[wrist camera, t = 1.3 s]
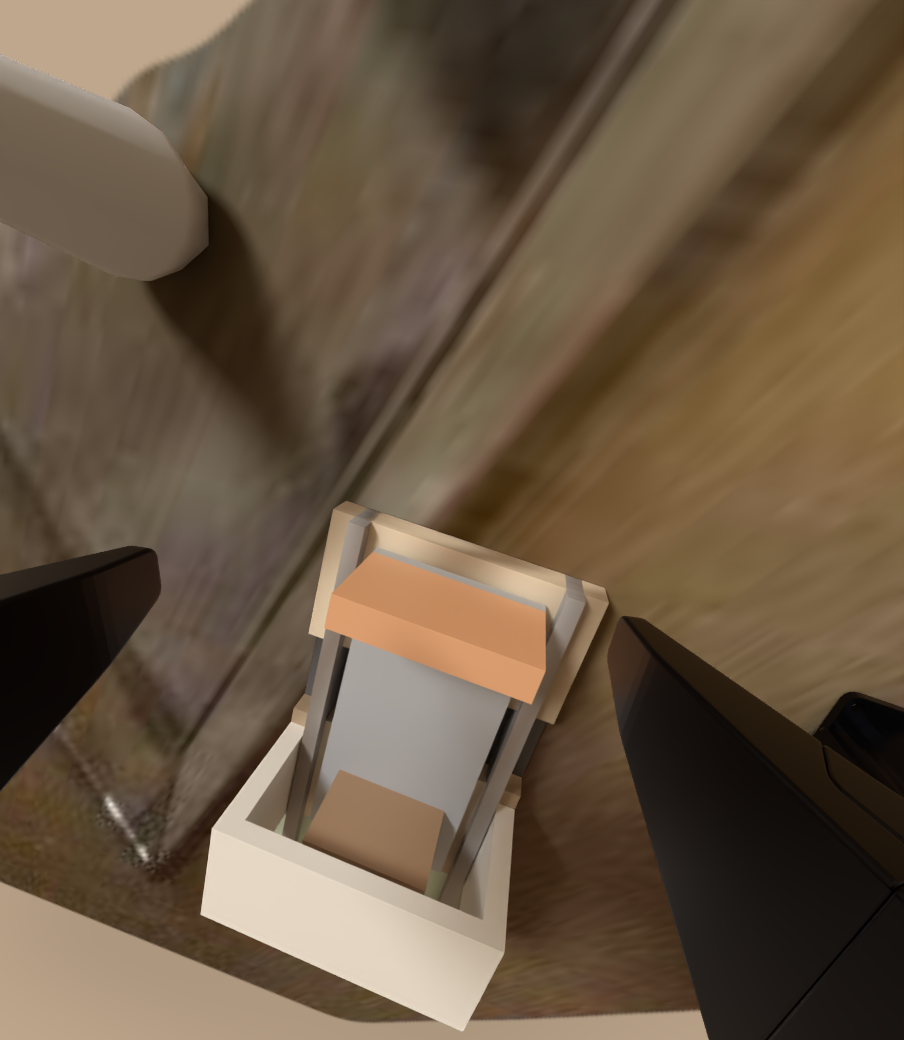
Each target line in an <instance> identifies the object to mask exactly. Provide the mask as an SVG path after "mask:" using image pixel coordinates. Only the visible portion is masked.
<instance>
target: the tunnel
mask: <svg viewBox="0 0 904 1040" xmlns="http://www.w3.org/2000/svg"><path fill="white" fill-rule="evenodd" d="M304 728H305V727H303V726H301V725H298V724H296V723H293V722H291V723H290V724H289V725H288V727H287V728H286V729H285V731H284V732H283V733H282V735H281V736H280V737H279V739H278V740H277V742H276V743H275V744H274V746H273V747H272V748H271V750H270V751H269V752H268V754H267V755H266V756H265V758H264V759H263V760H262V762H261V763H260V764H259V766H258V767H257V769H256V770H255V771H254V773H253V774H252V775H251V777H250V778H249V779H248V781H247V782H246V783H245V785H244V786H243V787H242V789H241V790H240V791H239V793H238V794H237V796H236V797H235V798H234V800H233V801H232V802H231V804H230V805H229V806H228V808H227V809H226V810H225V812H224V813H223V814H222V816H221V817H220V819H219V820H218V821H217V823H216V824H215V825H214V827H213V828H212V834H211V841H210V849H209V856H208V863H207V871H206V878H205V886H204V893H203V901H202V908H201V915H203V916H205V917H207V918H209V919H212V920H214V921H216V922H218V923H221V924H223V925H225V926H227V927H230V928H232V929H234V930H236V931H238V932H241V933H243V934H245V935H247V936H250V937H252V938H254V939H256V940H259V941H261V942H263V943H265V944H268V945H270V946H272V947H274V948H276V949H279V950H281V951H283V952H285V953H288V954H290V955H292V956H294V957H297V958H299V959H301V960H303V961H306V962H308V963H310V964H312V965H314V966H317V967H319V968H321V969H323V970H326V971H328V972H330V973H332V974H335V975H337V976H339V977H341V978H343V979H346V980H348V981H350V982H352V983H355V984H357V985H359V986H361V987H364V988H366V989H368V990H370V991H373V992H375V993H377V994H379V995H381V996H384V997H386V998H388V999H390V1000H393V1001H395V1002H397V1003H399V1004H402V1005H404V1006H406V1007H408V1008H411V1009H413V1010H415V1011H417V1012H419V1013H422V1014H424V1015H426V1016H428V1017H431V1018H433V1019H435V1020H437V1021H440V1022H442V1023H444V1024H446V1025H449V1026H451V1027H453V1028H455V1029H457V1030H460V1031H462V1032H463V1031H464V1029H465V1027H466V1025H467V1023H468V1021H469V1019H470V1017H471V1015H472V1013H473V1012H474V1010H475V1008H476V1006H477V1004H478V1002H479V1000H480V998H481V996H482V994H483V993H484V991H485V989H486V987H487V985H488V983H489V981H490V979H491V977H492V976H493V974H494V972H495V970H496V968H497V966H498V964H499V962H500V960H501V958H502V957H503V955H504V952H505V938H506V924H507V910H508V896H509V882H510V868H511V854H512V840H513V826H514V812H515V810H514V809H512V808H509V807H507V806H504V805H502V804H499V803H498V806H497V808H496V810H495V812H494V815H493V817H492V819H491V822H490V824H489V826H488V829H487V831H486V833H485V835H484V838H483V840H482V842H481V845H480V847H479V849H478V851H477V854H476V856H475V858H474V861H473V863H472V865H471V867H470V870H469V872H468V874H467V877H466V879H465V881H464V886H463V892H462V898H461V904H460V910H458V909H455V908H453V907H450V906H448V905H446V904H443V903H441V902H438V901H436V900H434V899H431V898H429V897H427V896H424V895H422V894H419V893H417V892H415V891H412V890H410V889H408V888H405V887H403V886H400V885H398V884H396V883H393V882H391V881H389V880H386V879H384V878H381V877H379V876H377V875H374V874H372V873H370V872H367V871H365V870H362V869H360V868H358V867H355V866H353V865H351V864H348V863H346V862H343V861H341V860H339V859H336V858H334V857H332V856H329V855H327V854H324V853H322V852H320V851H317V850H315V849H313V848H310V847H308V846H305V845H303V844H301V843H298V842H296V841H294V840H291V839H289V838H286V837H284V836H282V835H279V834H277V833H275V832H274V831H275V830H276V828H277V826H278V825H279V823H280V821H281V820H282V818H283V816H284V815H285V813H286V811H287V808H288V803H289V798H290V794H291V789H292V784H293V780H294V775H295V770H296V765H297V761H298V756H299V751H300V747H301V742H302V737H303V732H304Z"/></svg>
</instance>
